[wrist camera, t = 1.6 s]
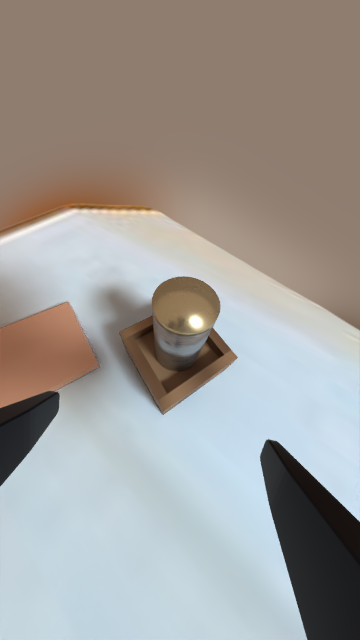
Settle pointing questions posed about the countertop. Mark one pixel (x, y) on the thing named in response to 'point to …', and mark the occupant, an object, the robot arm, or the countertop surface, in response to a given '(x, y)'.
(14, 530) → the countertop surface
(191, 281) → the silver and gold cylinder
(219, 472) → the countertop surface
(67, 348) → the terracotta tile
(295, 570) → the robot arm
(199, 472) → the countertop surface
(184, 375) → the socket block
